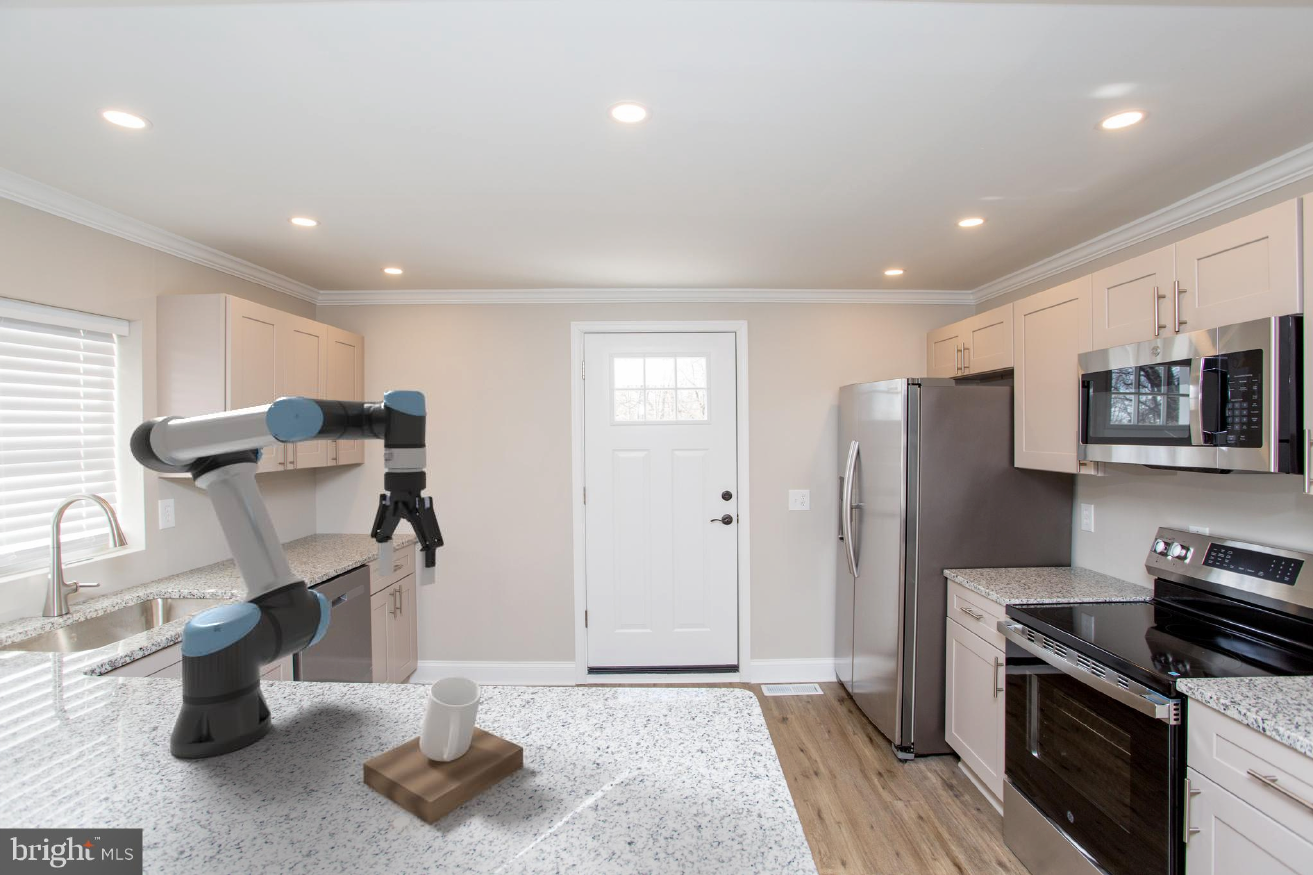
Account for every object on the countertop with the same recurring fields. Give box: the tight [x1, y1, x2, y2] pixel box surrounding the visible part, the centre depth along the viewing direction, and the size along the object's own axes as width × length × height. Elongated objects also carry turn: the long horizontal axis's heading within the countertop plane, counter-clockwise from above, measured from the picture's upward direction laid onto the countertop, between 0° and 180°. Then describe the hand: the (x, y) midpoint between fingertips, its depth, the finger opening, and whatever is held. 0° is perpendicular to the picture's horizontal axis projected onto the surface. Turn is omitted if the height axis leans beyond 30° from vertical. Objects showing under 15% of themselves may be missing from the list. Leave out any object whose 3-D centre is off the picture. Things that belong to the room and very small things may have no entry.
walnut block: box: [362, 725, 524, 826], centre depth 98 cm, size 18×18×4 cm
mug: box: [419, 675, 482, 762], centre depth 96 cm, size 12×8×10 cm
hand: (405, 579), depth 114 cm, fingers open, 13 cm apart
